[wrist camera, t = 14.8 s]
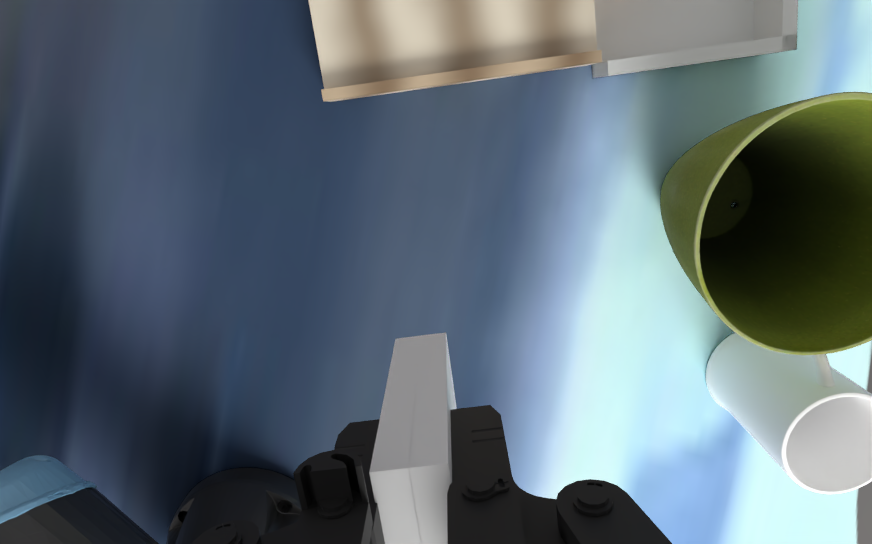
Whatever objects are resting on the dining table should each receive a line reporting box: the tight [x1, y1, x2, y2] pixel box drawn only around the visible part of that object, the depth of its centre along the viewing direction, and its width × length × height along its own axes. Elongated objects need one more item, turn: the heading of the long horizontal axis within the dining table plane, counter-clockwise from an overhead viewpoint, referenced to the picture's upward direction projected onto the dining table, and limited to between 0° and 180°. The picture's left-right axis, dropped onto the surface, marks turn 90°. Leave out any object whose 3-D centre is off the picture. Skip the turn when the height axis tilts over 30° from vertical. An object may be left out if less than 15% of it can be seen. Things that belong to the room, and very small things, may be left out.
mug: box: [706, 333, 872, 494], centre depth 46 cm, size 12×8×12 cm
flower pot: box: [660, 92, 872, 355], centre depth 41 cm, size 15×15×16 cm
